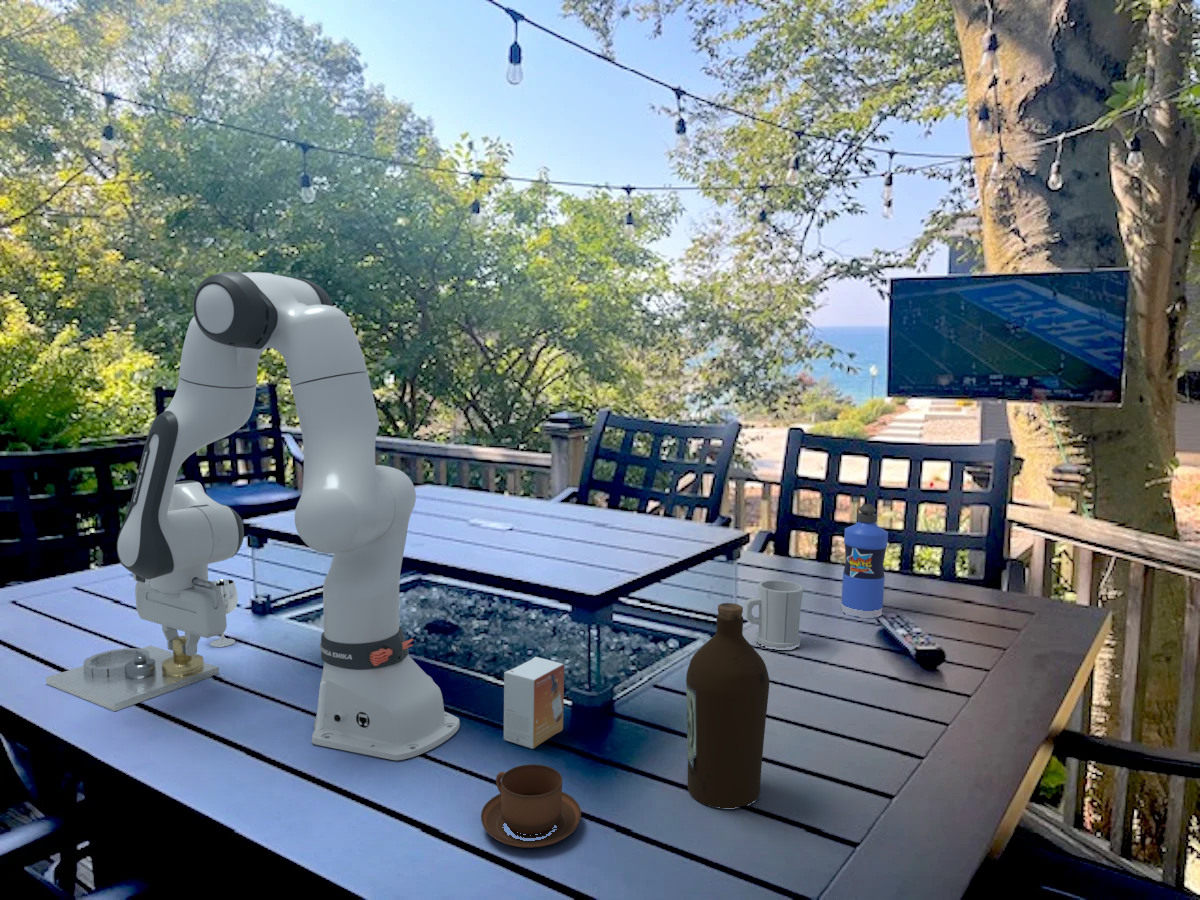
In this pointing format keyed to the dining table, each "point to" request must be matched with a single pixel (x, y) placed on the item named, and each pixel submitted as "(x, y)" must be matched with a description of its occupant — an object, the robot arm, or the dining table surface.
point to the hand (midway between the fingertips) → (182, 651)
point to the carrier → (124, 677)
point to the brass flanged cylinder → (181, 661)
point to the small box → (533, 702)
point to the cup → (777, 613)
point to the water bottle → (864, 562)
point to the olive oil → (726, 715)
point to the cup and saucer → (530, 807)
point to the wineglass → (226, 606)
